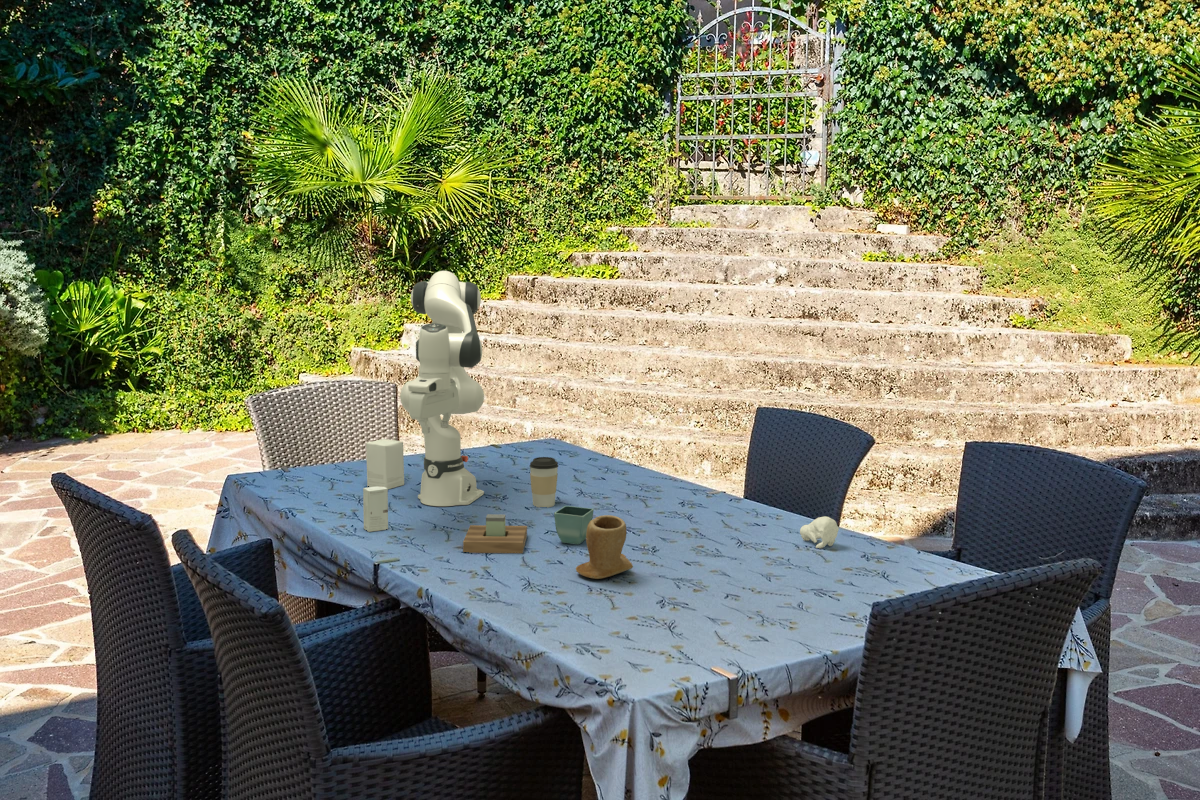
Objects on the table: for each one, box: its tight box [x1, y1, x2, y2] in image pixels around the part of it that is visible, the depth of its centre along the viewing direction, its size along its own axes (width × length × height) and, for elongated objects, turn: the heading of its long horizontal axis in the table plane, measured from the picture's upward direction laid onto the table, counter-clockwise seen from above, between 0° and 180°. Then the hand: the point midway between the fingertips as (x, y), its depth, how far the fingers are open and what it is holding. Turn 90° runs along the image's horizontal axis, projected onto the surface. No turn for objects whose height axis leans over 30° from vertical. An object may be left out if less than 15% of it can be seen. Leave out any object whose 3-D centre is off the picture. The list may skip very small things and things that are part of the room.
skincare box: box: [362, 486, 389, 533], centre depth 312 cm, size 6×4×12 cm
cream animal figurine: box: [799, 516, 840, 549], centre depth 303 cm, size 6×8×12 cm
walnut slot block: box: [462, 524, 528, 554], centre depth 300 cm, size 16×16×3 cm
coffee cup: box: [529, 456, 559, 508], centre depth 340 cm, size 9×9×15 cm
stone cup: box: [575, 514, 634, 580], centre depth 275 cm, size 15×12×15 cm
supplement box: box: [365, 438, 405, 490], centre depth 362 cm, size 9×9×15 cm
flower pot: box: [554, 505, 594, 545], centre depth 302 cm, size 9×9×9 cm
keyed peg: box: [485, 513, 507, 536], centre depth 299 cm, size 4×5×8 cm
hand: (435, 430), depth 308 cm, fingers open, 8 cm apart
